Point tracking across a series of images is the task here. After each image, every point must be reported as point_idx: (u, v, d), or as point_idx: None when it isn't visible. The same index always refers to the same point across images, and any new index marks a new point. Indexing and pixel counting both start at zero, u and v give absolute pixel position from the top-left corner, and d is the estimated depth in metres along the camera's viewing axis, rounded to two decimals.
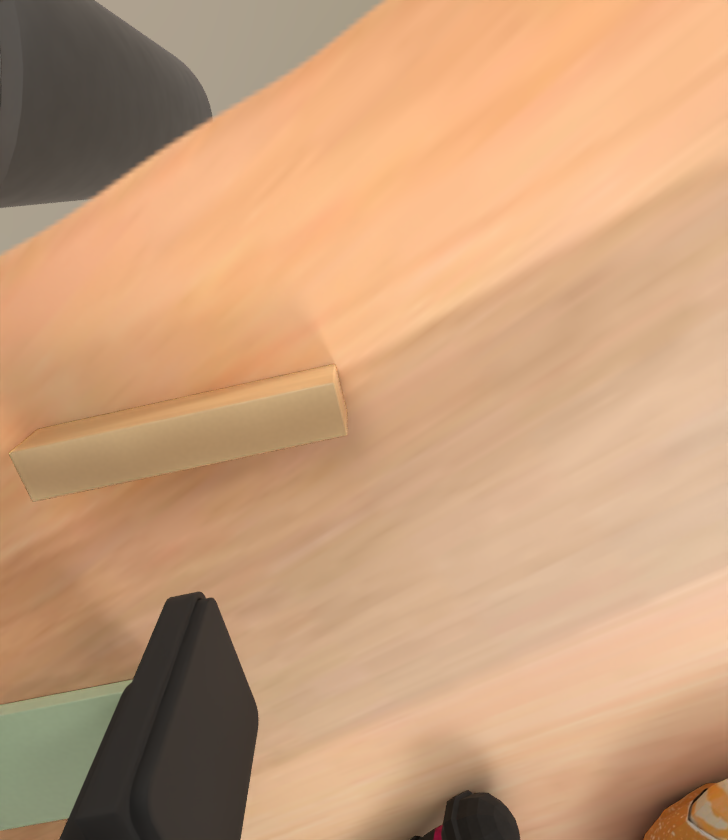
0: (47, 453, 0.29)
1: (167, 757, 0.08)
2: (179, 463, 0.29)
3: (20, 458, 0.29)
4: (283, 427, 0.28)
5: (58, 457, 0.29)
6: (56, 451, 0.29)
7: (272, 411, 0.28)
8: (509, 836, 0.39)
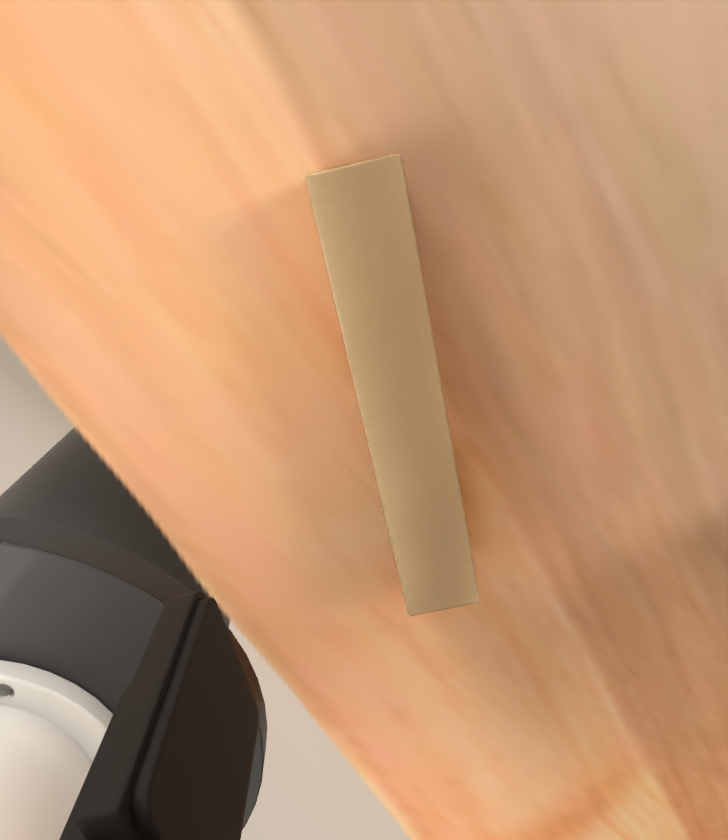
0: (411, 576, 0.22)
1: (167, 757, 0.08)
2: (435, 421, 0.20)
3: (416, 605, 0.23)
4: (381, 262, 0.18)
5: (417, 565, 0.22)
6: (408, 566, 0.22)
7: (354, 280, 0.18)
8: None
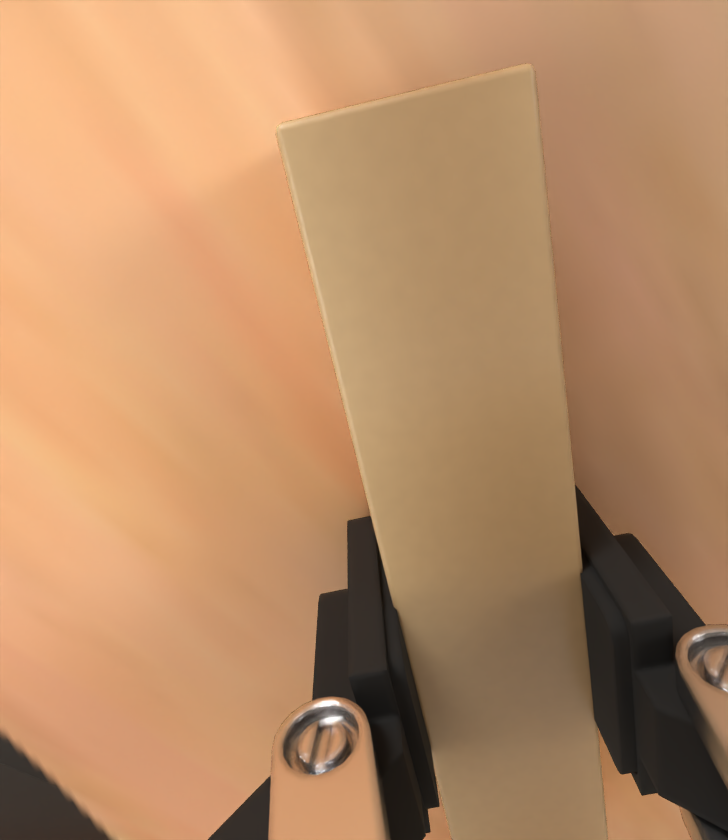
0: None
1: (401, 637, 0.09)
2: (565, 668, 0.09)
3: None
4: (468, 346, 0.07)
5: None
6: None
7: (401, 388, 0.07)
8: None
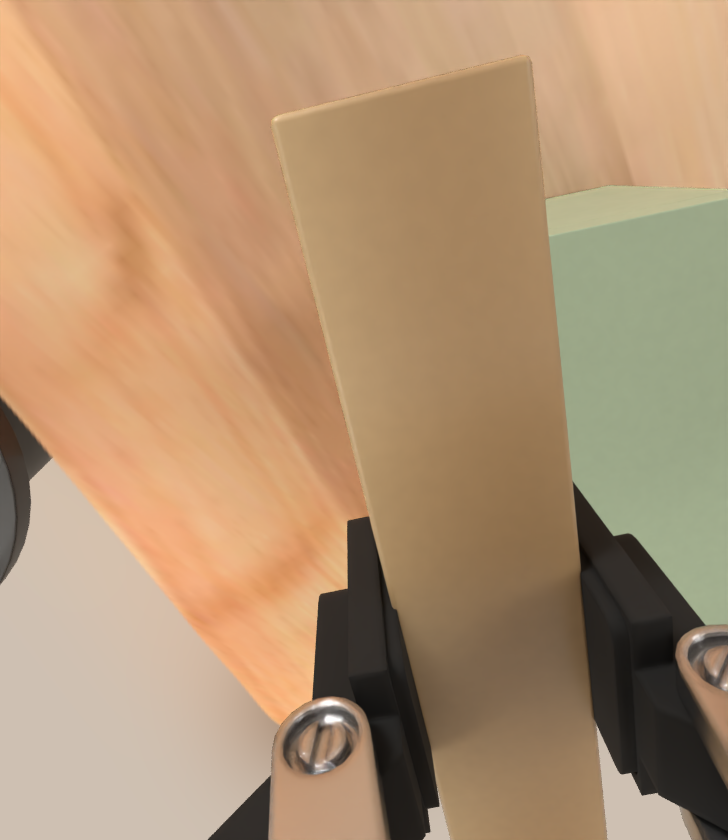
0: None
1: (401, 637, 0.09)
2: (563, 665, 0.09)
3: None
4: (465, 340, 0.07)
5: None
6: None
7: (397, 382, 0.07)
8: None
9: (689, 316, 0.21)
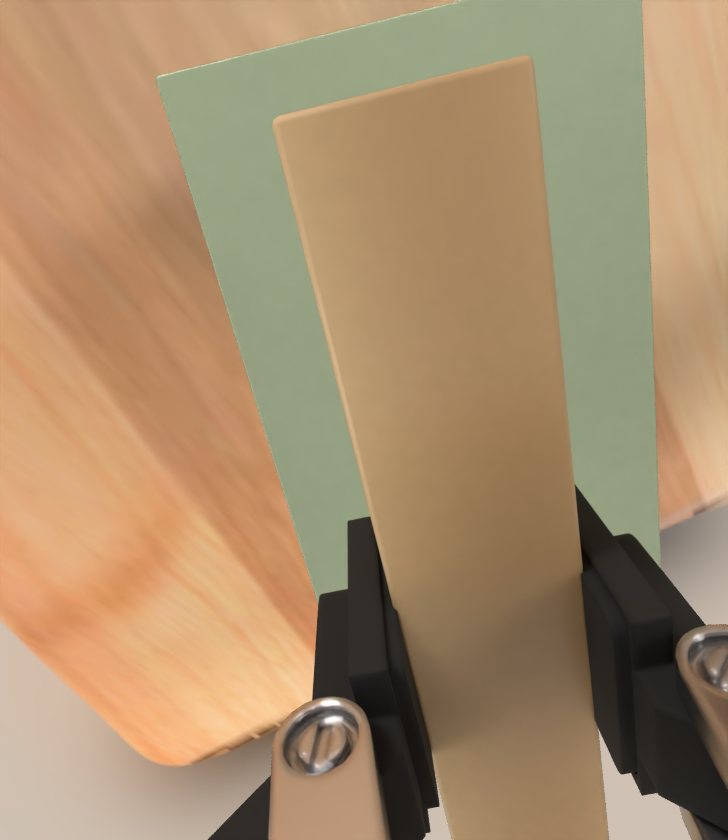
0: None
1: (401, 637, 0.09)
2: (565, 666, 0.09)
3: None
4: (466, 341, 0.07)
5: None
6: None
7: (398, 383, 0.07)
8: None
9: None
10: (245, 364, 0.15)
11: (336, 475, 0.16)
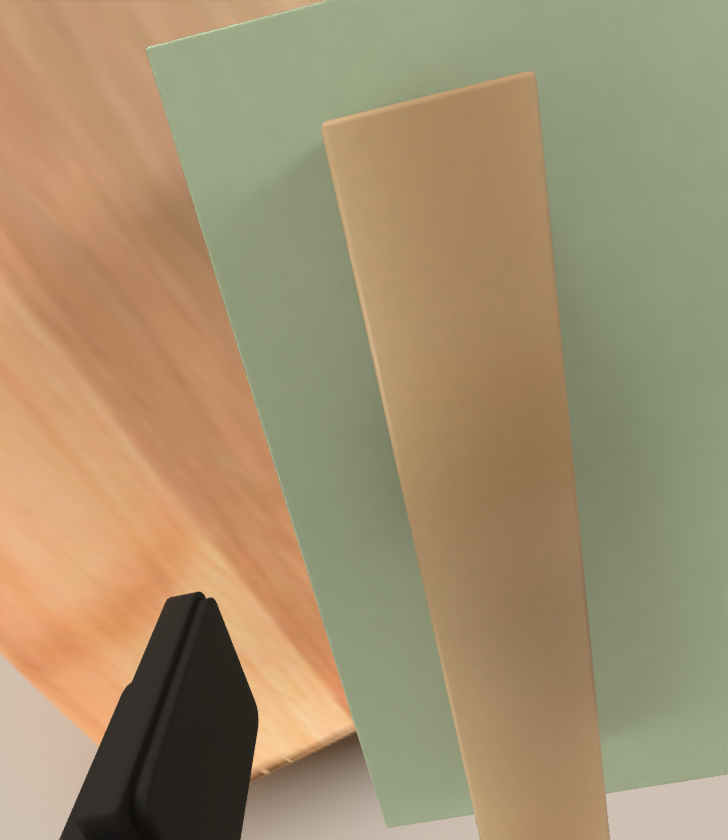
0: (499, 831, 0.13)
1: (168, 757, 0.08)
2: (563, 598, 0.11)
3: None
4: (479, 309, 0.09)
5: (510, 815, 0.13)
6: (496, 817, 0.13)
7: (421, 345, 0.09)
8: None
9: (615, 176, 0.11)
10: (255, 397, 0.12)
11: (361, 525, 0.13)
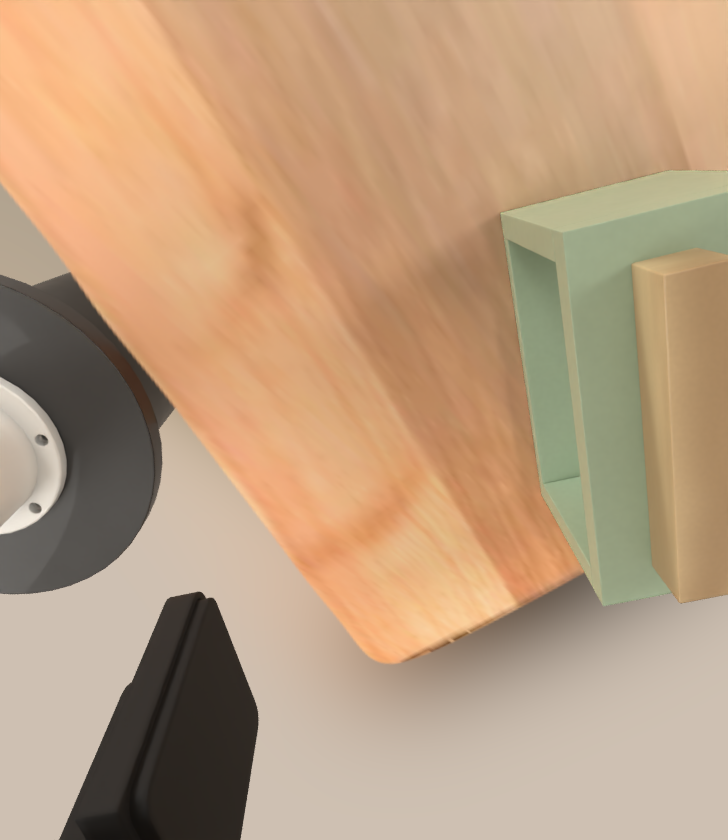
0: (688, 572, 0.28)
1: (167, 756, 0.08)
2: None
3: (688, 595, 0.28)
4: (709, 335, 0.24)
5: (694, 563, 0.28)
6: (687, 564, 0.28)
7: (686, 349, 0.24)
8: None
9: None
10: (578, 372, 0.27)
11: (616, 433, 0.28)
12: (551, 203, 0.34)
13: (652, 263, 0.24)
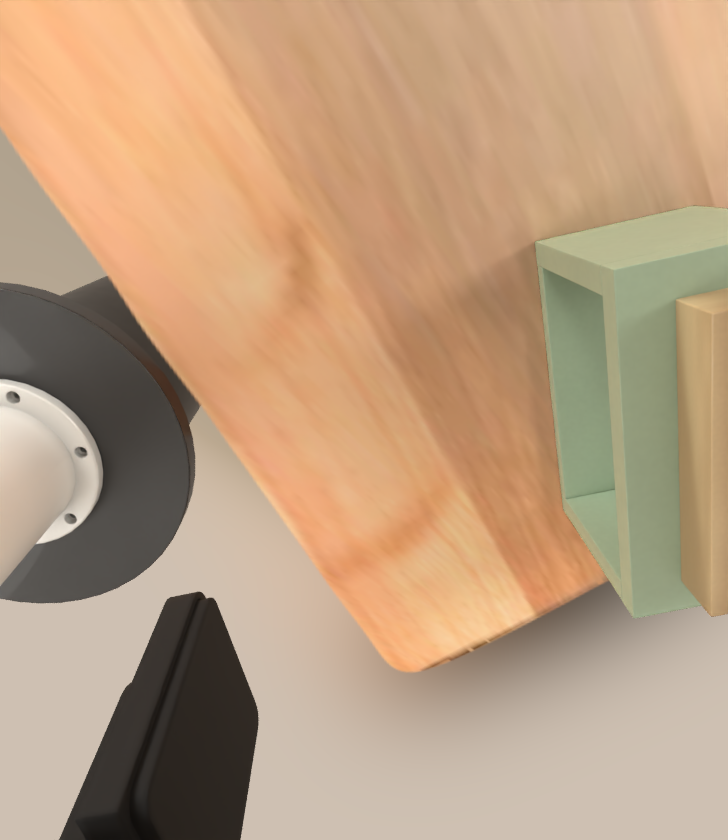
0: (720, 587, 0.30)
1: (167, 757, 0.08)
2: None
3: (719, 609, 0.30)
4: None
5: (726, 579, 0.30)
6: (720, 580, 0.30)
7: None
8: None
9: None
10: (621, 399, 0.29)
11: (654, 456, 0.30)
12: (585, 234, 0.36)
13: (697, 300, 0.26)
